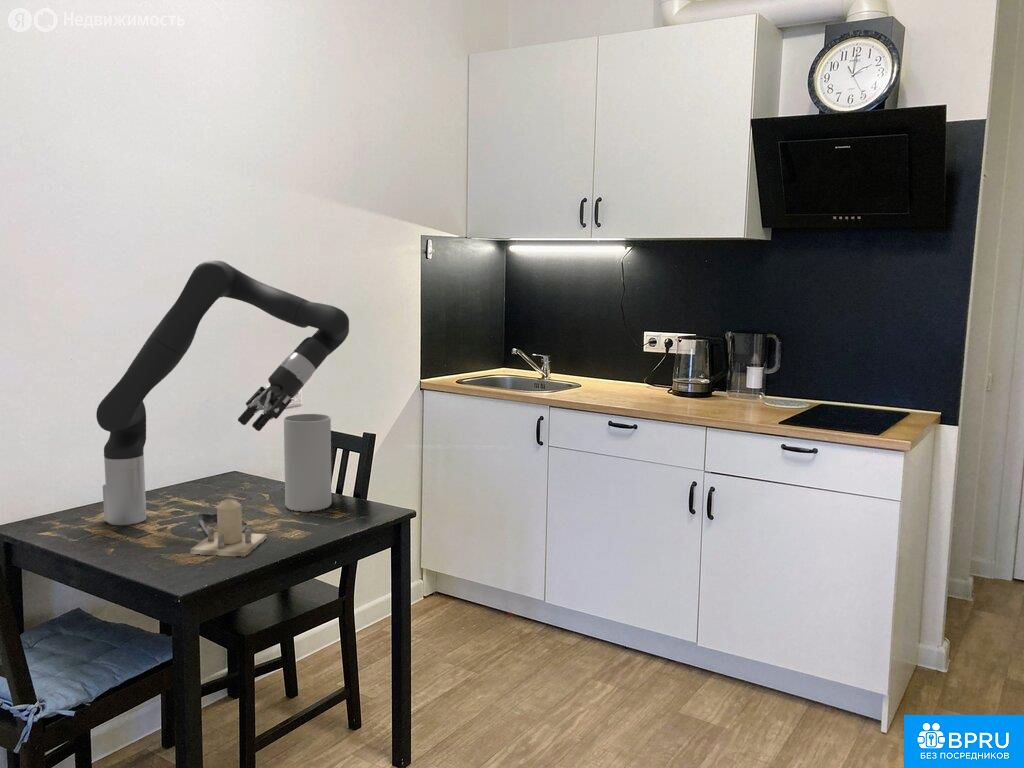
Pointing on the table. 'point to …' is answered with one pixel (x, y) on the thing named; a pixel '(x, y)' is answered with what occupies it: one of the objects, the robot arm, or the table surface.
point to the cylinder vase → (307, 462)
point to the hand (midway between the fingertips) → (247, 425)
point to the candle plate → (217, 546)
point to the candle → (230, 521)
